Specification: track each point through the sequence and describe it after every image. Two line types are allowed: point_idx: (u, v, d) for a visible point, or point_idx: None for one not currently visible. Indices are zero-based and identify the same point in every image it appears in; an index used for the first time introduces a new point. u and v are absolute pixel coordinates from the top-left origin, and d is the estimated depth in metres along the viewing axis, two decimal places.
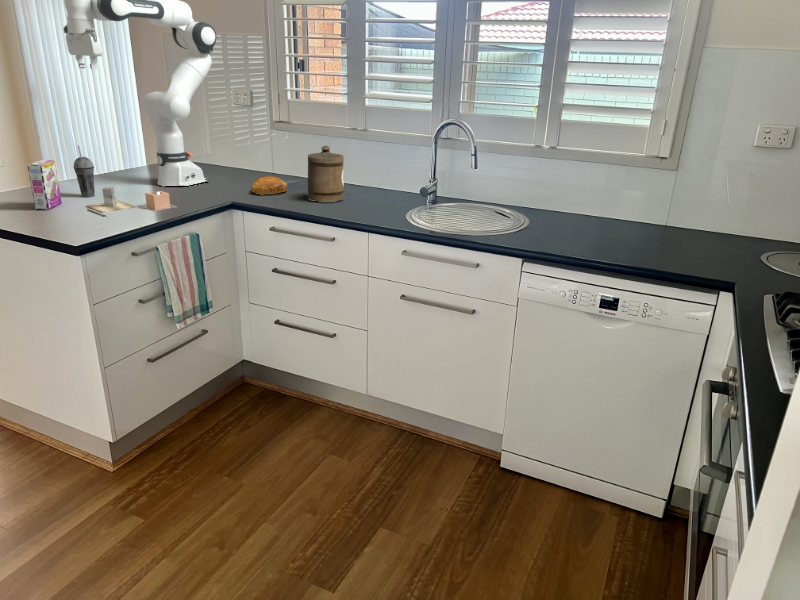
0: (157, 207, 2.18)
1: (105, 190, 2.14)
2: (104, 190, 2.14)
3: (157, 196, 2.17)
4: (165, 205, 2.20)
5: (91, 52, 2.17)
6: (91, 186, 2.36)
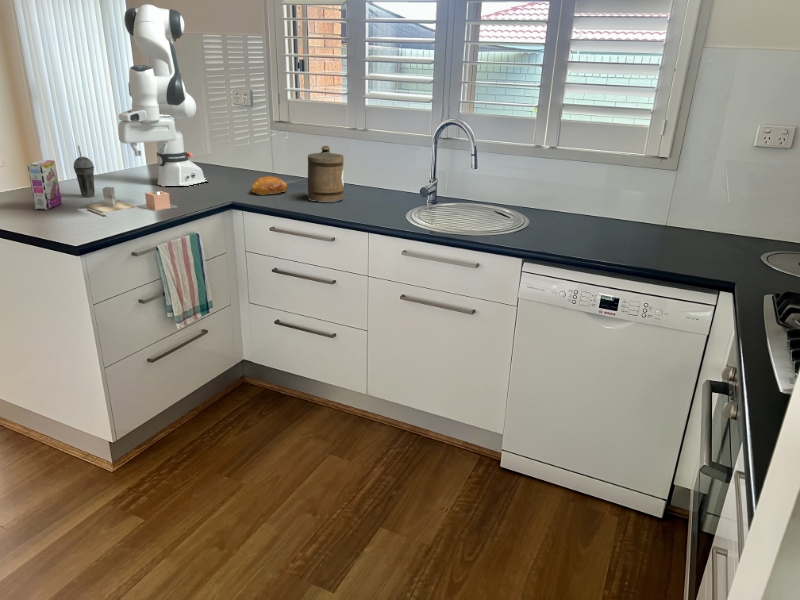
0: (157, 207, 2.18)
1: (105, 190, 2.14)
2: (104, 190, 2.14)
3: (157, 196, 2.17)
4: (165, 205, 2.20)
5: (174, 137, 2.18)
6: (91, 186, 2.36)
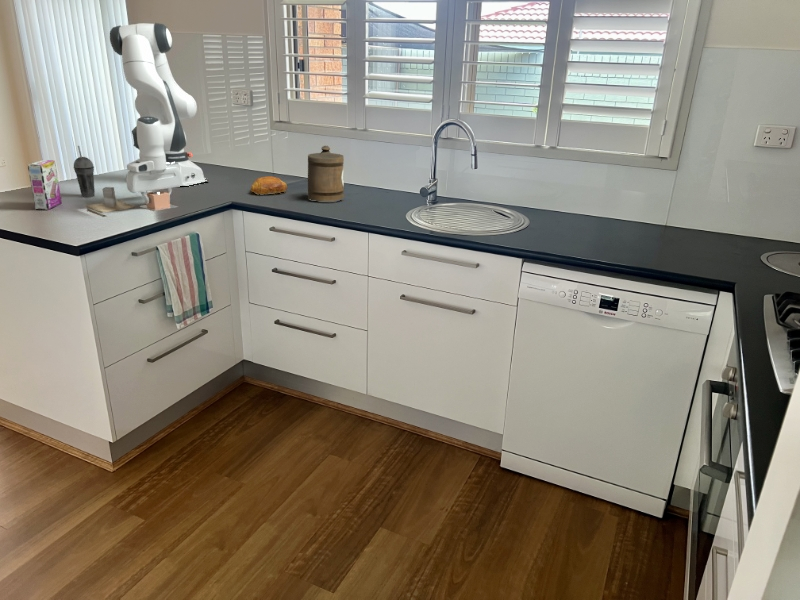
0: (157, 207, 2.18)
1: (105, 190, 2.14)
2: (104, 190, 2.14)
3: (157, 196, 2.17)
4: (165, 205, 2.20)
5: (180, 183, 2.24)
6: (91, 186, 2.36)
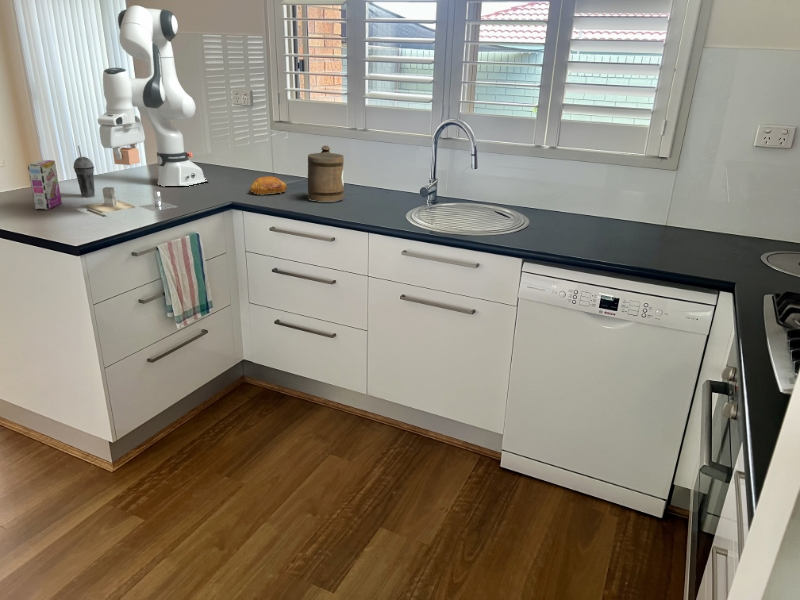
0: (131, 163, 2.11)
1: (105, 190, 2.14)
2: (104, 190, 2.14)
3: (130, 151, 2.10)
4: (136, 161, 2.14)
5: (143, 138, 2.18)
6: (91, 186, 2.36)
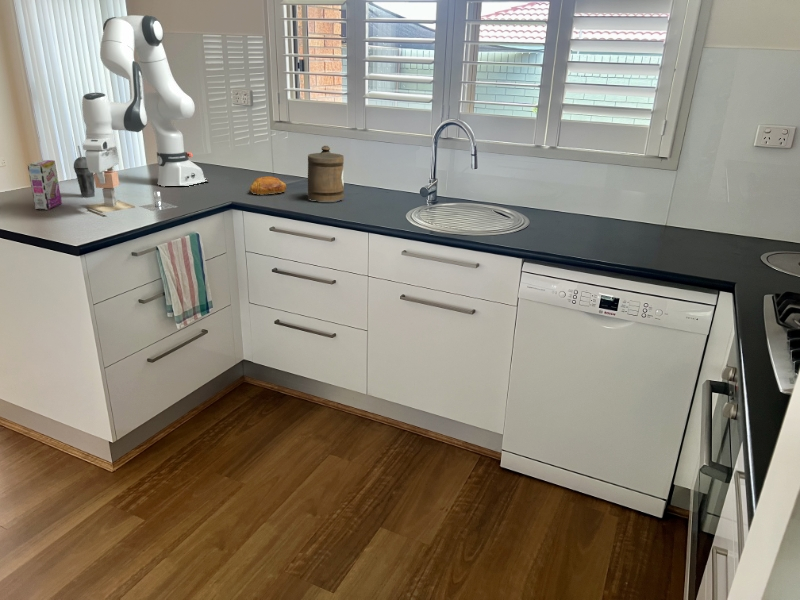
0: (114, 186, 2.13)
1: (105, 190, 2.14)
2: (104, 190, 2.14)
3: (113, 174, 2.12)
4: (117, 184, 2.16)
5: (118, 161, 2.20)
6: (91, 186, 2.36)
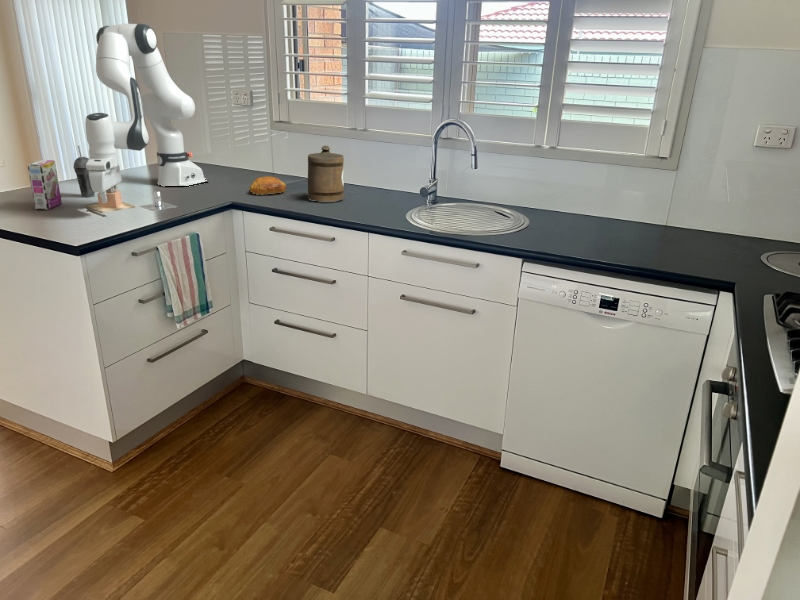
0: (117, 205, 2.16)
1: None
2: None
3: (116, 194, 2.15)
4: (120, 203, 2.19)
5: (120, 178, 2.23)
6: None
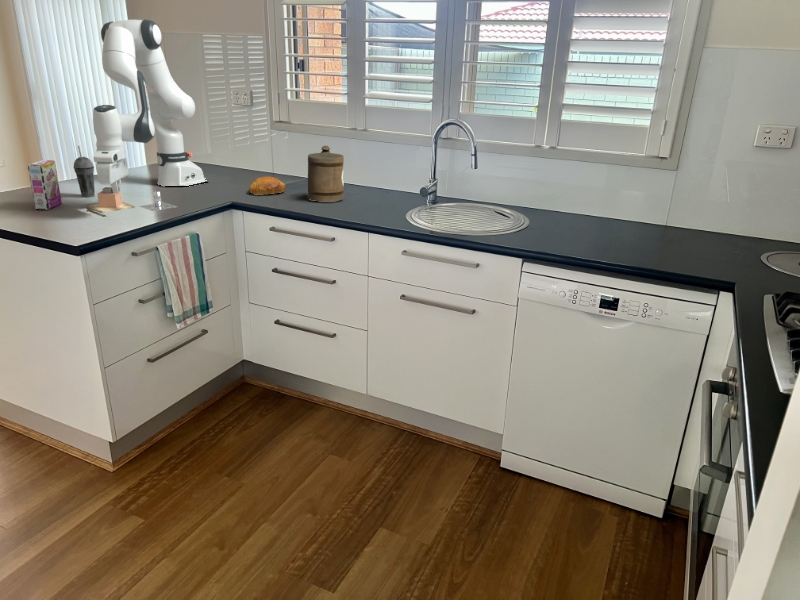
0: (117, 205, 2.16)
1: (105, 190, 2.14)
2: (104, 190, 2.14)
3: (116, 194, 2.15)
4: (120, 203, 2.19)
5: (127, 171, 2.22)
6: (91, 186, 2.36)
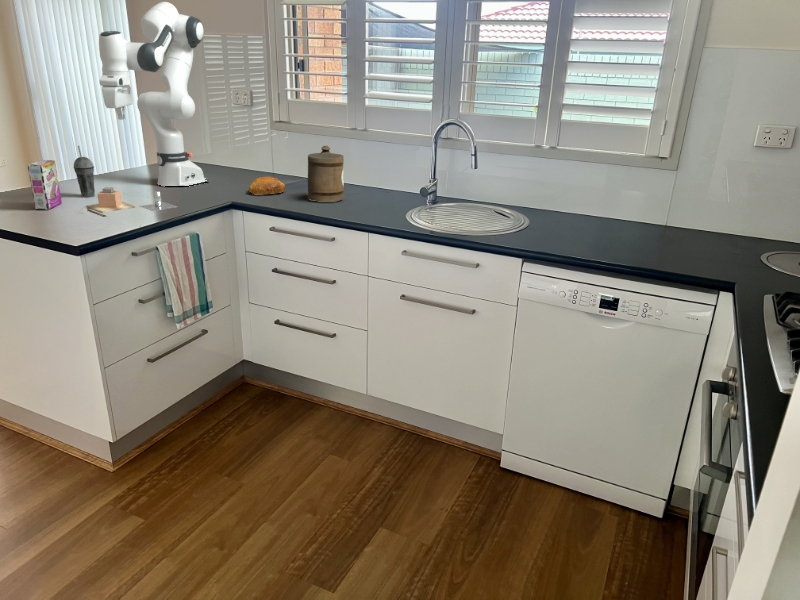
0: (117, 205, 2.16)
1: (105, 190, 2.14)
2: (104, 190, 2.14)
3: (116, 194, 2.15)
4: (120, 203, 2.19)
5: (132, 101, 2.27)
6: (91, 186, 2.36)
